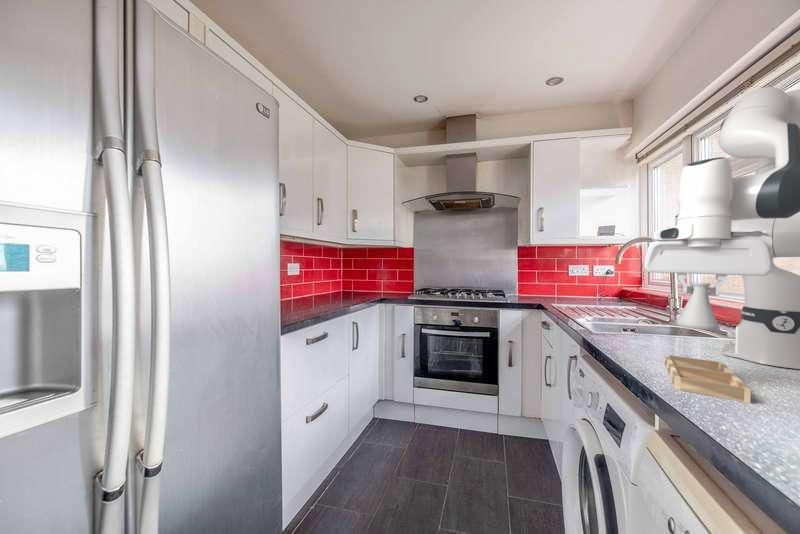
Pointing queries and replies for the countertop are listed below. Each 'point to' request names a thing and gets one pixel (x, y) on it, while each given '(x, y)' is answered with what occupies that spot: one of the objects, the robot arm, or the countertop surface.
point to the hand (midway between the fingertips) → (700, 294)
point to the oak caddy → (706, 378)
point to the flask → (698, 310)
